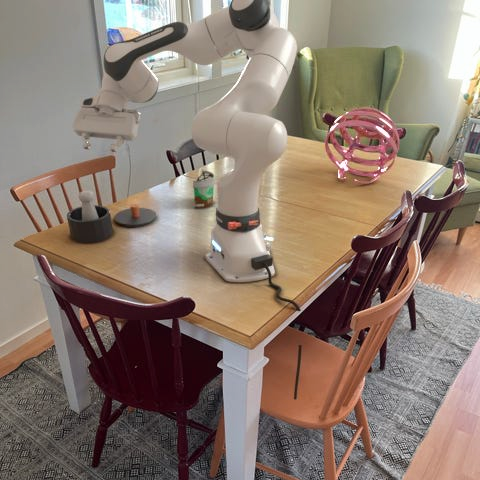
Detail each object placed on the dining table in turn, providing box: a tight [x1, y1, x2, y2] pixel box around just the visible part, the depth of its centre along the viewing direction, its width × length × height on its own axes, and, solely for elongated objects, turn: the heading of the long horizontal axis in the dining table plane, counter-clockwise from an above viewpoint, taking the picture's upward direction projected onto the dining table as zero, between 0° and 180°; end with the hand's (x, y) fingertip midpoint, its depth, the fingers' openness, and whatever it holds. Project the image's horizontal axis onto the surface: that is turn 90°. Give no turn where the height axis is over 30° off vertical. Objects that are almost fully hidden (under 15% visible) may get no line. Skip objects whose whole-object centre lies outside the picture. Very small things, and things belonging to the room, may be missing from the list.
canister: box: [66, 204, 114, 244], centre depth 147 cm, size 13×13×7 cm
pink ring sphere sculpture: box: [324, 107, 401, 186], centre depth 184 cm, size 28×28×27 cm
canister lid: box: [113, 203, 158, 227], centre depth 157 cm, size 14×14×5 cm
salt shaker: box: [78, 190, 99, 221], centre depth 145 cm, size 6×6×13 cm
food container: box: [192, 169, 217, 209], centre depth 166 cm, size 12×6×10 cm, turn 168°
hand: (99, 149), depth 145 cm, fingers open, 8 cm apart
